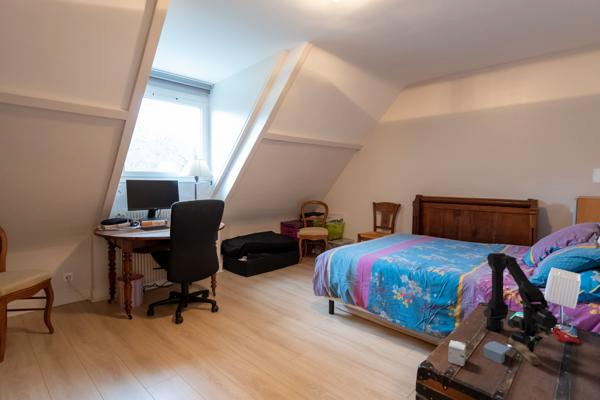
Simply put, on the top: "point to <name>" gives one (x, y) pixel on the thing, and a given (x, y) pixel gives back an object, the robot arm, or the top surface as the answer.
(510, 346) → the pintle
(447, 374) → the top surface
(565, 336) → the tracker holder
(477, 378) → the top surface
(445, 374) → the top surface
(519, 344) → the link
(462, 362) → the skincare box
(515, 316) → the handheld game console
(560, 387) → the top surface
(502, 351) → the block
